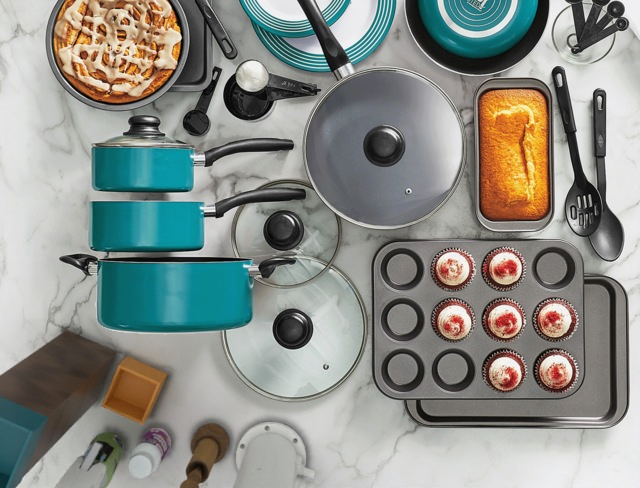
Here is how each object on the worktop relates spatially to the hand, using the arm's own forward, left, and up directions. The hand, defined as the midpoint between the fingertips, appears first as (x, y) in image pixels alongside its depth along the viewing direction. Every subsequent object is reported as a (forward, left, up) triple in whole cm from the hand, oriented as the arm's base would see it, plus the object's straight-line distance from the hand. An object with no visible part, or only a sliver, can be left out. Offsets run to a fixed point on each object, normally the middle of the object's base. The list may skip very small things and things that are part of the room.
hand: (97, 463), depth 115 cm
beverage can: (0, 0, -7) cm, 7 cm away
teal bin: (+11, -11, +21) cm, 26 cm away
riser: (+11, -11, -7) cm, 17 cm away
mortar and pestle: (-16, -8, -7) cm, 19 cm away
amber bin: (0, -12, -7) cm, 14 cm away
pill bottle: (-7, -4, -7) cm, 11 cm away
